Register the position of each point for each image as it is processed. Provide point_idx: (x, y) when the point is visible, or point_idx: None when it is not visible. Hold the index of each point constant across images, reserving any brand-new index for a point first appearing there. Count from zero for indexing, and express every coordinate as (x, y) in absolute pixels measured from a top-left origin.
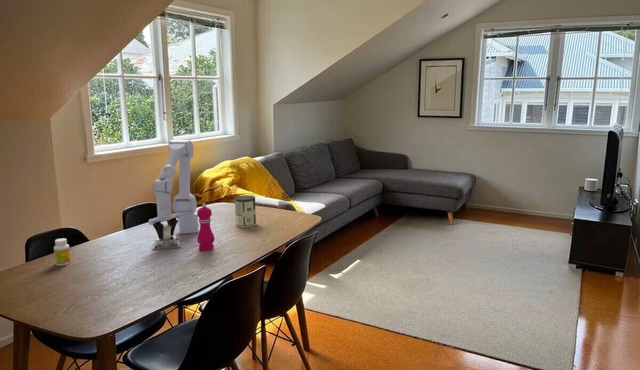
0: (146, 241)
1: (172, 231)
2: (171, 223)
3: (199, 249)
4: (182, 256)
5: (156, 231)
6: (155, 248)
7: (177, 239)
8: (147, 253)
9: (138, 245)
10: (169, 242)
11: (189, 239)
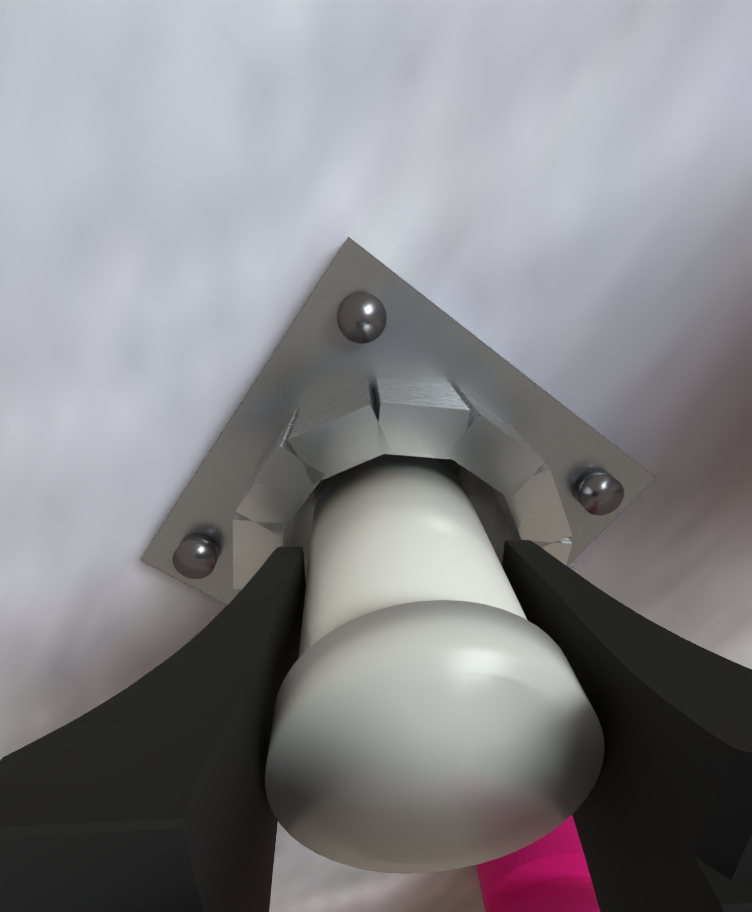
0: (291, 26)
1: None
2: (619, 867)
3: (481, 864)
4: (284, 860)
5: (208, 627)
6: (176, 574)
7: (595, 509)
8: (47, 594)
9: (66, 148)
10: None
11: (734, 525)
